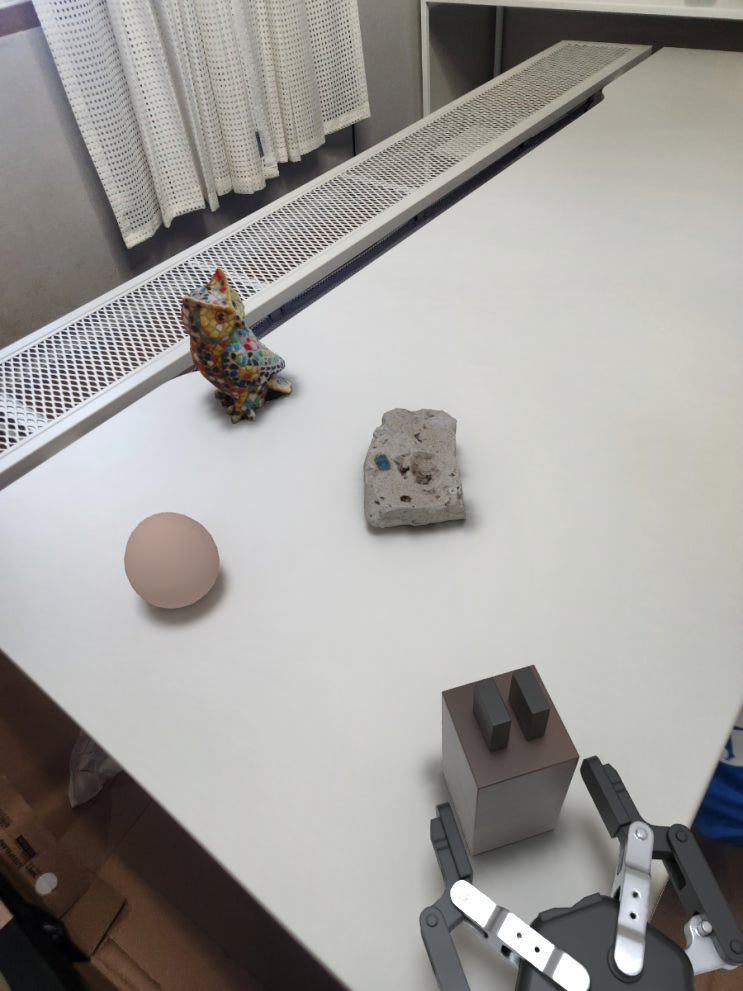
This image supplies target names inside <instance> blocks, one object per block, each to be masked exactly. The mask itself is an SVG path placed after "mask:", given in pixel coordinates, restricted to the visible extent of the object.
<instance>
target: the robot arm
mask: <svg viewBox="0 0 743 991" xmlns="http://www.w3.org/2000/svg"><path fill="white" fill-rule="evenodd" d="M579 773H580V777H581V780H582V781H583V783H584V785H585V787H586V789H587V791H588V794H589V796H590V797H591V800H592V801H593V804H594V806H595V808H596V810H597V812H598V814H599V816H600V818H601V821H602V822H603V824H604V826H605V828H606V830H607V832H608V834H609V836H610V839H616V838H617V840H618V842H619V848H618V853H617V854H618V855H617V861H616V868H615V876H614V880H613V883H612V887H611V892H610V893H611V894H610V895H609V896H608V895H604V894H601V893H600V891H598V892H594V893H593V894H592V893H591V894H589V895H586V896H584V897H583V898H581V899H580V900H579V901H577V902H576V903H574V904H573V905H572V906H567V907H566V906H564V907H562V906H561V907H552V908H549V909H545V910H543V911H540V912H538V914H537V916H536V917H535V918H534V919H533V920H532V921H531V923H530V924H527V923H526V922H524V921H523V920H522V919H521V918H519V917H518V916H517V915H516V914H514V913H513V912H512V911H510V910H509V909H507V908H506V907H504V906H500V904H498V903H497V902H495V901H493V900H492V899H491V898H489V897H488V896H487V895H486V894H485V893H483V892H482V891H481V890H479V889H478V888H477V887H475V886H474V885H473V883H474V870H473V867H472V865H471V862H470V858H469V855H468V853H467V851H466V847H465V844H464V842H463V838H462V835H461V832H460V829H459V827H458V824H457V820H456V818H455V816H454V813H453V810H452V806H451V804H450V802H449V801H446V802H442V803H440V804H439V803H438V804H436V805H435V817H434V818H431V819H430V822H429V823H430V824H429V835H430V836H429V837H430V842H431V844H432V848H433V852H434V855H435V858H436V861H437V864H438V868H439V870H440V875H441V878H442V881H443V883H444V887H445V889H444V892H443V894H442V895H441V897H439V898H438V899H437V900H436V901H435V902H434V903H433V904H432V905H430V906H429V905H428V906H426V907H425V908H423V909H422V911H421V912H420V914H419V917H418V918H419V919H418V923H419V928H420V931H419V932H420V936H421V939H422V942H423V945H424V949H425V952H426V954H427V957H428V960H429V964H430V966H431V969H432V972H433V975H434V978H435V981H436V985H437V987H438V990H439V991H472V990H471V987H470V985H469V982H468V979H467V977H466V974H465V970H464V968H463V965H462V962H461V960H460V957H459V954H458V952H457V949H456V946H455V943H454V940H453V938H452V935H451V932H453V931H454V930H455V929H456V928H457V927H458V926H460V924H461V923H462V924H463V925H464V926H465V927H467V928H468V929H469V930H470V931H472V932H473V933H474V934H476V935H477V936H478V937H479V938H480V939H481V940H483V942H485V943H486V945H487V946H488V947H489V948H490V949H491V950H492V951H493V952H495V953H496V954H497V955H499V956H500V957H501V958H502V959H503V960H505V961H506V962H507V963H508V964H509V965H510V966H512V967H513V968H514V969H515V970H517V975H516V980H515V981H516V982H515V987H514V991H697V990H696V983H695V976H698V975H702V974H705V973H709V972H712V971H717V972H720V973H730V972H731V971H732V970H734V969H737V967H740V966H742V965H743V930H742V928H741V926H740V924H739V922H738V920H737V918H736V917H735V914H734V912H733V911H732V908H731V906H730V905H729V903H728V901H727V899H726V896H725V895H724V893H723V890H722V889H721V887H720V885H719V883H718V881H717V879H716V877H715V875H714V873H713V871H712V869H711V867H710V865H709V862H708V861H707V860H706V857H705V855H704V853H703V851H702V849H701V848H700V846H699V844H698V841H697V840H696V838H695V836H694V834H693V831H691V829H690V828H689V827H687V826H686V825H685V824H682V823H673V824H672V825H670V826H667V825H654V824H652V823H650V822H648V821H646V819H644V818H643V817H642V816H641V814H640V812H639V810H638V807H636V804H635V803H634V801H633V799H632V797H631V795H630V793H629V791H628V790H627V787H626V786H625V784H624V782H623V780H622V778H621V776H620V774H619V772H618V770H616V768H615V767H614V766H612V764H611V763H609V762H607V763H604V764H603V763H602V761H601V759H600V758H599V756H598V755H592V756H588V757H586V758H583V760H582V762H581V764H580V768H579ZM652 860H655V861H661V862H662V865H663V866H664V868H665V871H666V873H667V875H668V877H669V879H670V881H671V884H672V886H673V888H674V890H675V892H676V894H677V896H678V898H679V900H680V903H681V905H682V907H683V909H684V911H685V913H686V916H687V918H688V920H687V921H686V922H685V924H684V926H683V933H684V934H683V935H684V937H685V940H686V945H685V948H684V949H683V947H682V946H681V945H680V944H679V943H678V942H676V941H674V940H673V939H672V938H670V937H669V936H668V935H666V934H665V933H663V931H661V930H660V929H658V928H657V927H656V926H654V925H653V924H651V923H650V922H649V921H648V914H649V904H650V895H651V886H652V874H651V870H652V869H651V867H652Z"/></svg>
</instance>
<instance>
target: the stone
mask: <svg viewBox="0 0 743 991" xmlns="http://www.w3.org/2000/svg"><path fill="white" fill-rule="evenodd" d="M457 423H458V420H457V418H455V417H453V416H452V415H451V414H449V413H448V412H446V411H445V410H443V409H432V408H421V409H418V410H413V411H411V410H409V409H407V408H401V407H395V408H393V409H391V410H388V411H386V412H384V413H383V415H382V417H381V424H380V425H379V426H377V427H376V428H375V429H374V431H372V438H371V441H370V444H369V446H368V449H367V452H366V455H365V458H364V462H363V466H362V467H363V468H362V469H363V470H362V471H363V483H364V488H363V494H364V495H363V510H364V518H365V520H366V522H367V523H368V524H370V525H371V526H372V527H375V528H381V529H382V528H392V527H397V526H405V525H411V526H413V527H416V526H417V527H418V526H425V525H428V524H434V523H442V522H443V523H444V522H447V521H457V520H465V519H467V511H466V505H465V499H464V498H465V497H464V492H463V486H462V482H461V480H460V479H461V478H460V473H459V466H458V465H457V456H456V454H455V453H456V449H457V437H456V434H457Z"/></svg>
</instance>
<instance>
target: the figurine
mask: <svg viewBox="0 0 743 991" xmlns="http://www.w3.org/2000/svg"><path fill="white" fill-rule="evenodd" d="M181 302H182V303H181V308H180V319H181V321H182V325H183V327H184V330H185V332H186V334H187V336H188V337H189V351H190V355H191V360H192V363H193V364H194V365H195V367H196V368H197V370H198V371H199V373H200V374H201V376H202V377H203V378H204V379H205V380H207V381H208V382H209V383H210V384H211V385H213V387H215V388H216V389H215V390H214V392H213V393H214V399H219V401H220V404H221V406H222V407H223V408H225V409H224V412H225V413H226V414H228V415H230V416H231V418H230V420H231V423H232V424H236V423H238V422H239V421H240V422H241V421H244V420H247V421H248V420H249V421H252V422H253V421H256V418H257V414H256V413H255V412H256V411H257V410H258V409H259V408H261V407H263V406H265V403H266V402H271V401H276V400H278V399H280V398H281V397H282V396H286V395H290V394H291V393H292V383H291V382H290V381H289V380H288V379H287V378H286V377H284V376H283V375H281V374H279V373H281V372H282V371H283V370H285V369H286V361H285V359H283V357H282V356H280V355H279V354H277V353H275V352H273V351H272V350H271V349H269V347H267V346H266V345H265V344H264V343H263V342H262V341H260V339H259V338H258V336H256V335H255V333H254V332H253V330H252V329H250V328H249V327H248V326H247V322H246V321H245V318H246V312H245V305H244V303H243V300H242V298H241V296H240V294H239V293H238V291H236V289H234V288H233V287H231V286H230V285H229V279H228V277H227V274H226V273H225V271H224V270H223V269H222V268H221V267H217V268H216V269H215V271H214V273H213V274H212V275H211V276H210V280H209V281H208V282H206V283H204V284H203V285H201V286H197V287H196V288H194V289H191V290H190V292H189V293H188V294H187V295H184V296H183V297H182V299H181ZM278 374H279V375H278Z"/></svg>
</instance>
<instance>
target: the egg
mask: <svg viewBox="0 0 743 991" xmlns="http://www.w3.org/2000/svg"><path fill="white" fill-rule="evenodd" d="M123 556H124V558H123V565H124V571H125V572H124V573H125V576H126V578H127V580H128V582H129V584H130V586H131V588H132V589H133V590H134V592H135V593H136V595H137V596H139V597H140V598H141V599H143V600H144V601H145V602H147V603H148V604H150V605H153V606H155V607H158V608H163V609H179V608H184V607H187V606H191V605H193V604H194V603H196V602H198V601H200V600H201V599H203V597H205V596H206V595H207V594H208V593H209V592H210V590H211V589H212V588H213V587H214V585H215V582H216V580H217V577H218V575H219V571H220V563H221V559H220V553H219V547H218V546H217V544H216V542H215V540H214V538H213V535H212V534H211V532H209V530H208V529H207V528H206V527H205V526H204V525H203V524H202V523H200V522H199V521H197V520H195V519H193V518H192V517H190V516H187V515H185V514H183V513H178V512H172V511H163V512H158V513H154V514H152V515H149V516H147V517H145V518H144V519H143V520H141V521H140V522H139V523H138V524H137V526H135V528H133V530H132V531H131V533H130V535H129V536H128V538H127V541H126V546H125V551H124V555H123Z"/></svg>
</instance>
